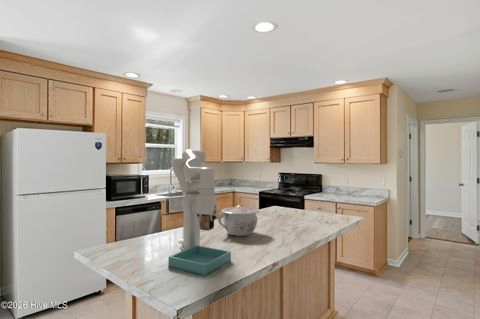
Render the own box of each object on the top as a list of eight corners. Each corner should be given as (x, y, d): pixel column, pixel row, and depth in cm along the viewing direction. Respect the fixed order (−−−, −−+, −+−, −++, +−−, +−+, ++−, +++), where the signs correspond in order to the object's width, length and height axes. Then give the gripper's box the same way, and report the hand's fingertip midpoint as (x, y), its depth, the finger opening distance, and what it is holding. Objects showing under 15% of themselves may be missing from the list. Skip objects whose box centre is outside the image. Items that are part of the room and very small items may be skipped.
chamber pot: (260, 230, 216) (260, 202, 216) (258, 240, 188) (259, 208, 188) (223, 228, 218) (223, 201, 218) (216, 238, 191) (217, 207, 191)
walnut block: (199, 229, 145) (200, 215, 146) (205, 227, 150) (205, 214, 150) (208, 230, 143) (208, 216, 143) (213, 228, 148) (213, 215, 148)
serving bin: (168, 267, 139) (168, 256, 139) (196, 254, 158) (196, 245, 158) (205, 276, 128) (205, 265, 128) (230, 261, 148) (230, 251, 148)
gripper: (189, 191, 147) (188, 227, 147) (217, 193, 140) (217, 230, 139) (197, 190, 154) (197, 224, 154) (225, 192, 146) (224, 227, 146)
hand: (206, 227), depth 146 cm, fingers closed on walnut block, 5 cm apart
